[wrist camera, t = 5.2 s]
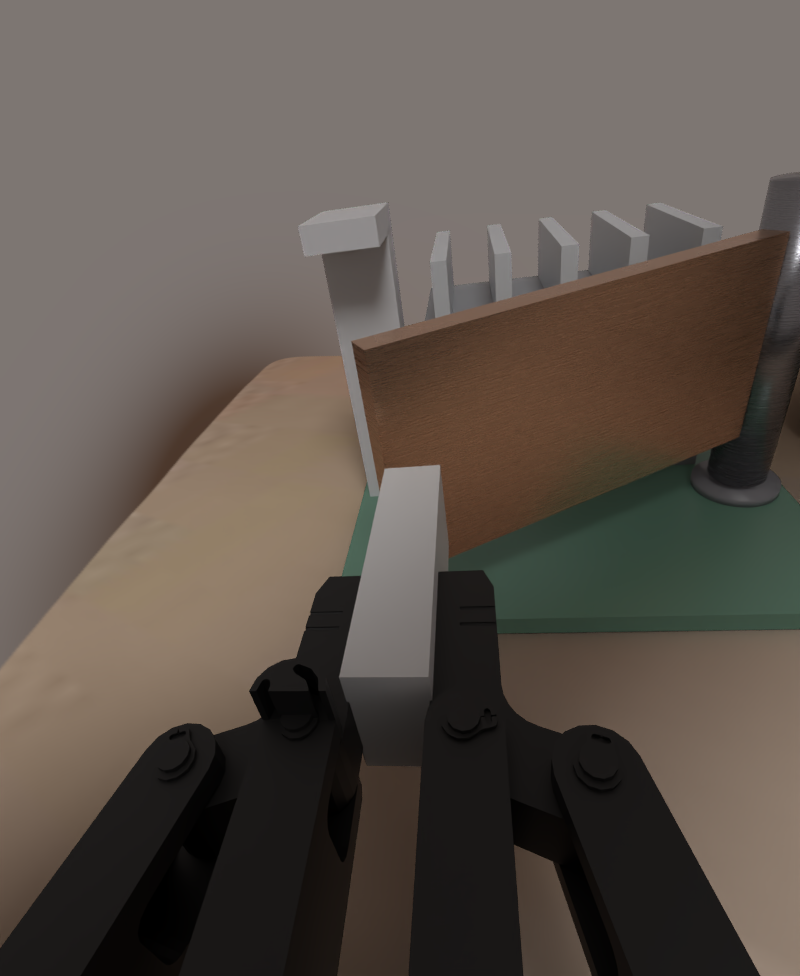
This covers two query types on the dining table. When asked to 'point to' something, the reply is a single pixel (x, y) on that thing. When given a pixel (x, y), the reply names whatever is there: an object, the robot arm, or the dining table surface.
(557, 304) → the hinge
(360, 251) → the heat sink
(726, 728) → the dining table surface
